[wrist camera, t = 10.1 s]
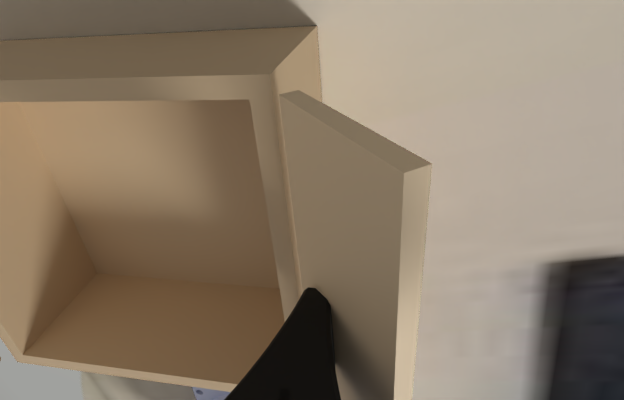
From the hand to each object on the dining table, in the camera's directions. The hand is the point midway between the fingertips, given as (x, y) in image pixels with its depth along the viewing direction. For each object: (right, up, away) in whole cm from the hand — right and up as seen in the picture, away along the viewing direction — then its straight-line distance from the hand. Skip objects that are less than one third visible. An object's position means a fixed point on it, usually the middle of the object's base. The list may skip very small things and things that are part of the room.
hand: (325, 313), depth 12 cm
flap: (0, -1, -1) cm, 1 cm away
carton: (-7, +4, +8) cm, 11 cm away
